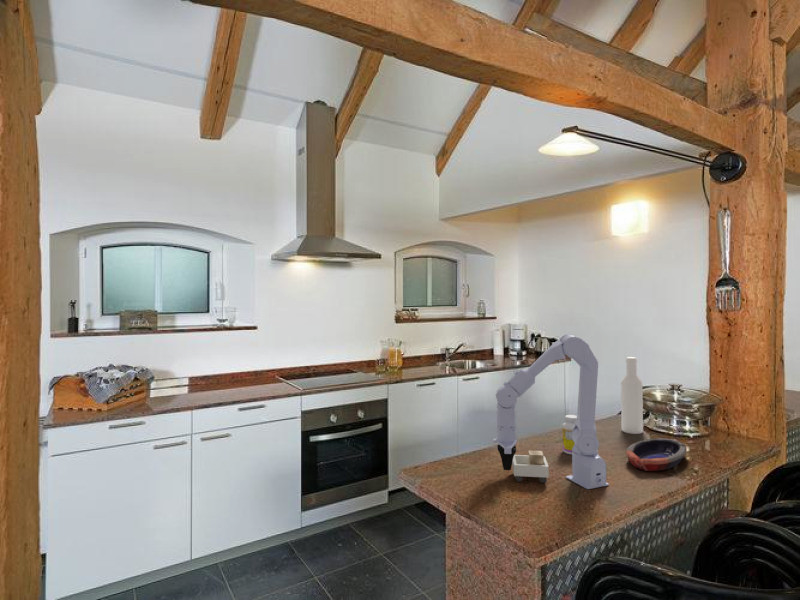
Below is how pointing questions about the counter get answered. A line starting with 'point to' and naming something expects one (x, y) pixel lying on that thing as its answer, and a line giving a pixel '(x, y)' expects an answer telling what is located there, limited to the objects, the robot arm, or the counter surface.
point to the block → (535, 457)
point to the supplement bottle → (568, 433)
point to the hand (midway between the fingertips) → (507, 469)
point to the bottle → (631, 400)
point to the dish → (656, 454)
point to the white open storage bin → (529, 468)
